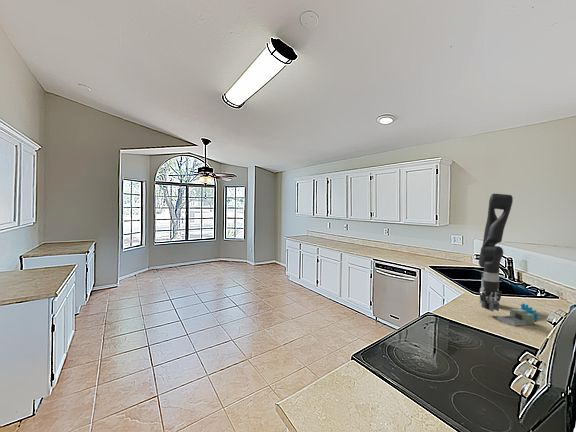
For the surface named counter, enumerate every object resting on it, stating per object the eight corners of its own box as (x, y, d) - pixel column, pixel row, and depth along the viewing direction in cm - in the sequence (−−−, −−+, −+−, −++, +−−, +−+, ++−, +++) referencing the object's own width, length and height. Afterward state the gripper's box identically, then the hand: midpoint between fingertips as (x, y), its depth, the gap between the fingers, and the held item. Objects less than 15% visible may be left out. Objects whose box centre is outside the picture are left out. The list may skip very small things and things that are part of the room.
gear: (531, 319, 156) (518, 302, 163) (522, 323, 160) (510, 307, 167) (544, 319, 159) (531, 303, 166) (535, 324, 163) (522, 308, 170)
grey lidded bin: (481, 307, 168) (481, 298, 167) (488, 306, 169) (488, 298, 168) (492, 311, 161) (492, 302, 161) (499, 310, 162) (499, 302, 162)
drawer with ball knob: (497, 319, 160) (497, 308, 159) (515, 317, 163) (515, 307, 163) (514, 326, 150) (515, 315, 150) (534, 324, 153) (534, 313, 153)
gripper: (495, 277, 169) (494, 305, 170) (475, 278, 166) (474, 307, 167) (507, 280, 162) (506, 310, 162) (486, 282, 159) (485, 311, 160)
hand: (490, 308), depth 165 cm, fingers closed on grey lidded bin, 4 cm apart
